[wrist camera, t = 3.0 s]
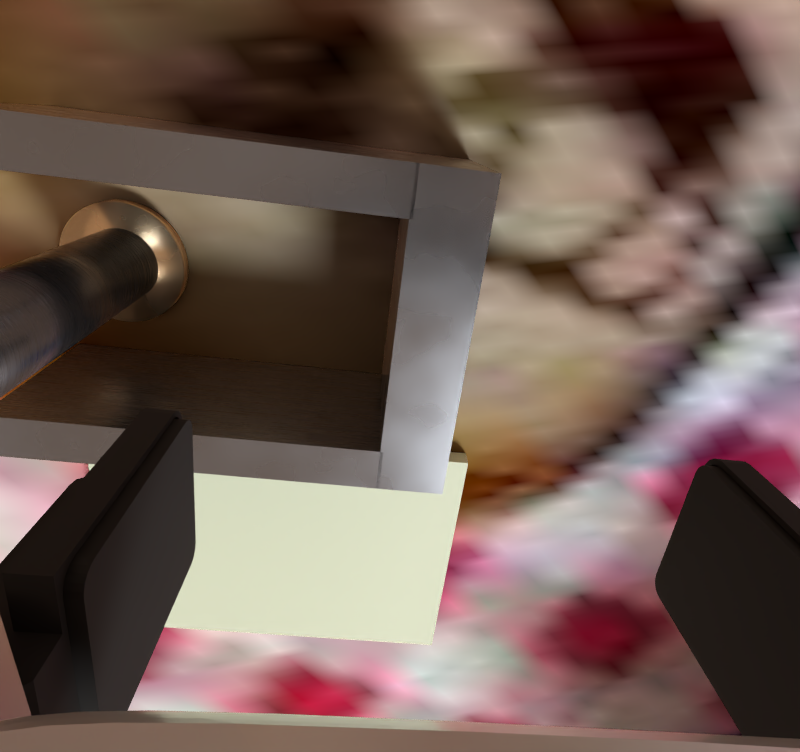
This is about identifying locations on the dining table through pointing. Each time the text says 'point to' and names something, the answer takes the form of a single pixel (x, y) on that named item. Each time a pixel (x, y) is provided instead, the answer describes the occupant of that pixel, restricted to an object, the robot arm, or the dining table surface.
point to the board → (318, 558)
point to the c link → (260, 381)
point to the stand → (87, 284)
